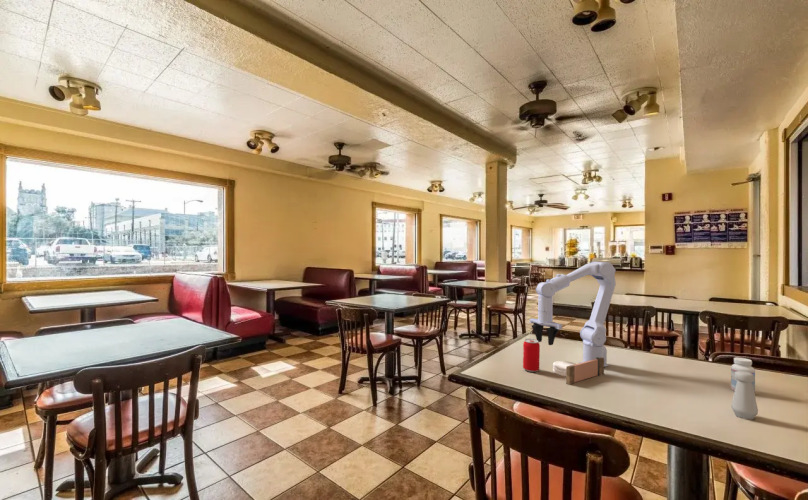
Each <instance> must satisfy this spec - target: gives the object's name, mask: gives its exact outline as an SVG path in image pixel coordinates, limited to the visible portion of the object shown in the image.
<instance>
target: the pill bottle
mask: <svg viewBox="0 0 808 500" xmlns="http://www.w3.org/2000/svg"><path fill="white" fill-rule="evenodd" d="M752 365H753V361H752V360H751V359H749V358H744V357H733V364H732V365H731V366H730V377H731V378H730V387H731V390H732V391H734V392H735V388H736V384H737V379H736V378H735V372H737V371H744V372H749V373H751V374H753V375H754V376H755V377H756V370H755V368H754V367H753V366H752ZM752 385H753V389H754V394H756V380H755V381H754V382H752Z"/></svg>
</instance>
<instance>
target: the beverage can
mask: <svg viewBox="0 0 808 500" xmlns="http://www.w3.org/2000/svg"><path fill="white" fill-rule="evenodd" d="M522 344H523V345H522V346H523V347H522V348H523V349H522V352H523V353H522V355H523V356H522V368H523V369H524V370H525V371H527V372H530V373H535V372H538V371H539V370H540V357H541V355H540V352H541V351H540V347H541V346H540V342H538V340H537V339H534V338H525V339H524V341H523V343H522Z"/></svg>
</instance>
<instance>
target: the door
mask: <svg viewBox="0 0 808 500" xmlns="http://www.w3.org/2000/svg"><path fill="white" fill-rule="evenodd" d="M581 362H582V363H580V362H578V363H576V364H574V365H573V366H575V373H574V383H577V382H580V381H583V380H586V379H590V378H593V377H597V375H598V360H597V359H593V360H590V361H586V362H583V361H581Z"/></svg>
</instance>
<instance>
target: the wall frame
mask: <svg viewBox="0 0 808 500" xmlns="http://www.w3.org/2000/svg"><path fill="white" fill-rule="evenodd" d="M596 359H597V360H598V375H597V376H598V377H599V376H602V375H605V367H604V358H602V357H601V358H599V357H596ZM574 373H575V366H573V365H570V366H567V369H566V376H565V377H566V381H565V382H566V385H569V386H570V385H573V384H575V382H574ZM597 376H596V377H597Z"/></svg>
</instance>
